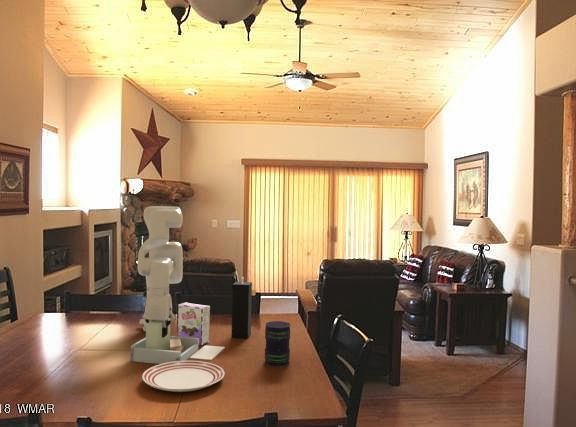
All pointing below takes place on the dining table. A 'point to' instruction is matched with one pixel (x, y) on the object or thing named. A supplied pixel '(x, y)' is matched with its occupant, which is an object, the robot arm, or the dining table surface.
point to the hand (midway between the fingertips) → (158, 335)
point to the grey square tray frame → (164, 351)
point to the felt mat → (207, 352)
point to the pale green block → (157, 336)
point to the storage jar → (277, 344)
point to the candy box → (194, 321)
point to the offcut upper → (175, 345)
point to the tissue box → (241, 309)
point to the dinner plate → (183, 375)
